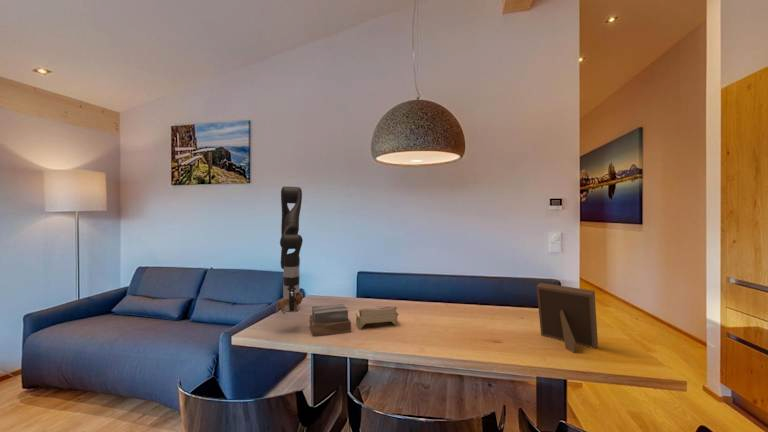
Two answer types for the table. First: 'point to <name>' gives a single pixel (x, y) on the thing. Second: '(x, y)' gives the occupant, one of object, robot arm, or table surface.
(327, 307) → the wooden box
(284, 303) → the lion figurine
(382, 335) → the table surface
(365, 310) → the toy sofa
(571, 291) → the photo frame
